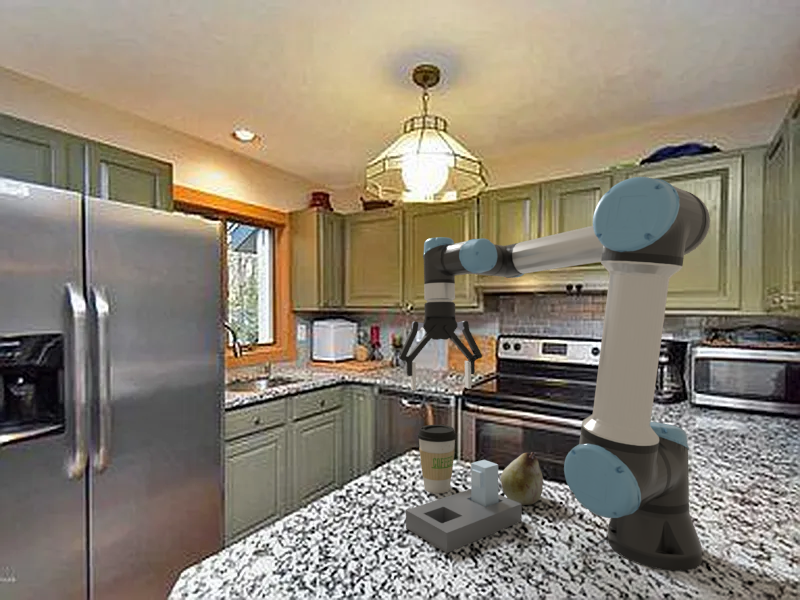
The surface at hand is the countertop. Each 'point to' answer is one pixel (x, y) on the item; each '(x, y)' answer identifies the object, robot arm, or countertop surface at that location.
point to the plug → (484, 483)
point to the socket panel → (461, 520)
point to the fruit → (523, 479)
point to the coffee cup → (437, 456)
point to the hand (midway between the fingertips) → (441, 389)
